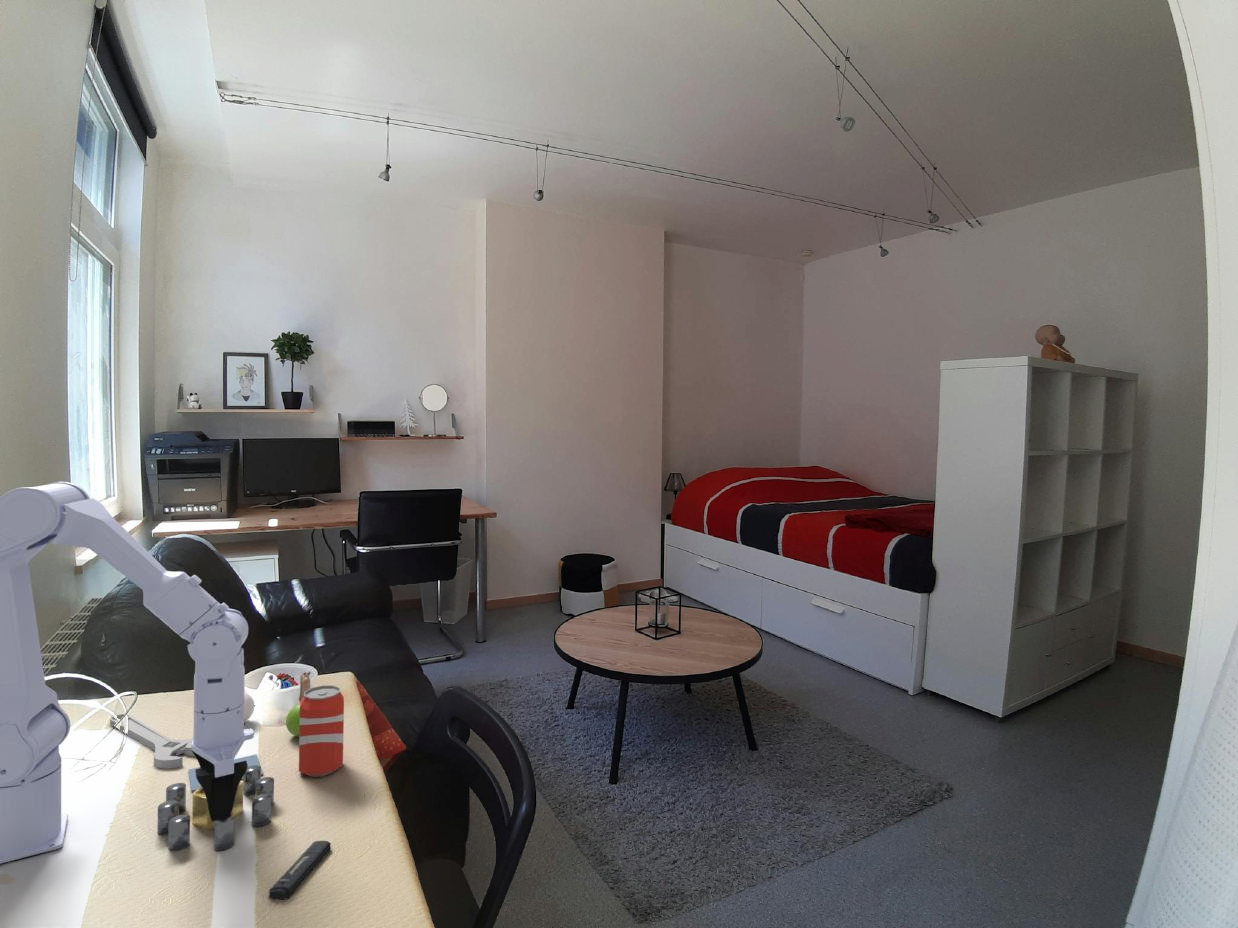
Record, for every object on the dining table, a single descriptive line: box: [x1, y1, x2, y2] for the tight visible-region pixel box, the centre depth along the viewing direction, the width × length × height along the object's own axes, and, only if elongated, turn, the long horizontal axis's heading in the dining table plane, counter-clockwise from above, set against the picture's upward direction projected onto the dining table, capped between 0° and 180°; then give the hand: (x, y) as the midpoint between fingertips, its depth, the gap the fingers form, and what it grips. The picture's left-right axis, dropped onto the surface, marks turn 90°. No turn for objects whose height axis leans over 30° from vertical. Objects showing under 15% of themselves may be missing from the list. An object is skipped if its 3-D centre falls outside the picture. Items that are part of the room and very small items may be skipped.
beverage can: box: [298, 684, 345, 777], centre depth 100 cm, size 6×6×12 cm
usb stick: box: [268, 840, 332, 901], centre depth 77 cm, size 10×3×2 cm, turn 175°
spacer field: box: [157, 765, 275, 852], centre depth 86 cm, size 13×14×3 cm
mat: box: [188, 754, 264, 793], centre depth 98 cm, size 9×7×1 cm
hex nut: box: [191, 780, 244, 830], centre depth 87 cm, size 6×5×4 cm
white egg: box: [244, 691, 256, 723], centre depth 115 cm, size 8×6×6 cm
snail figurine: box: [285, 671, 312, 737], centre depth 111 cm, size 5×6×12 cm
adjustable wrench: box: [109, 713, 195, 769], centre depth 108 cm, size 25×6×2 cm, turn 53°
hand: (218, 805), depth 87 cm, fingers open, 6 cm apart
